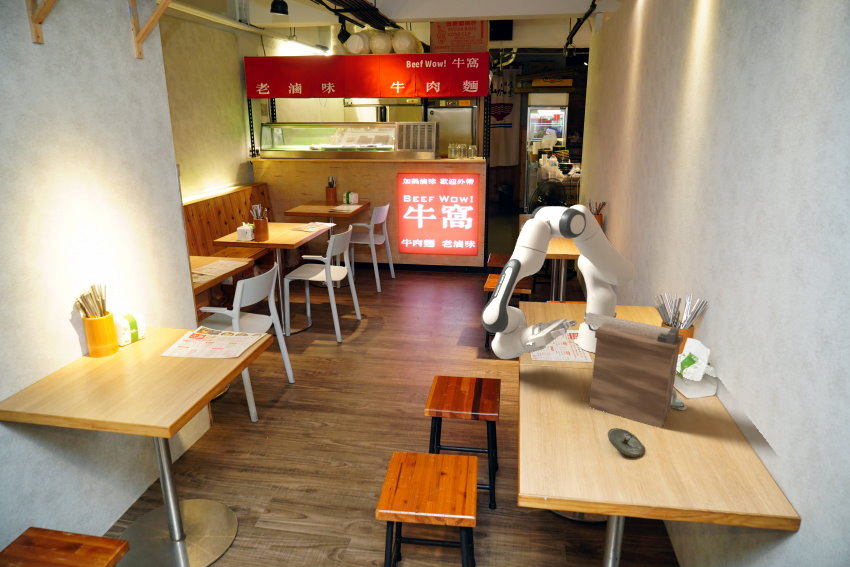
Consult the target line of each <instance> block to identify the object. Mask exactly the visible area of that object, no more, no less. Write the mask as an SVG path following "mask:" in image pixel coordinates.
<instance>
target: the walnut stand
mask: <svg viewBox="0 0 850 567" xmlns="http://www.w3.org/2000/svg"><path fill="white" fill-rule="evenodd" d="M669 329H670V331H669V332H668V334H667V337H664V336H658V339H655V338H650V337H645V336H641V335H636V334H631V333H626V332H622V331H617V330H612V329H607V328H603V327H600V328H599V329H598V330H597V331H596V332H595V338H597V341H596V350H595V353H594V358H593V361H594V362H593V368H592V377H591V378H592V380H591V387H590V395H589V404H588V408H589V407H591V408H590V409H593V408H594V410H596V409H597V411H600V410H601V411H600V412H603V411H604V412H603V413H606V412H607V414H610V413H611V414H610V415H613V414H614V416H618V417H620V416H621V418H624V419H626V420H631V421H635V422H638V423H642V424H645V425H649V426H652V427H655V426H656V427H655V428H658V427H659V429H662V427H663V425H664V424H663V423H665V422H666V420H667V418H668V416H669V414H670V410H671V399H672V393H673V388H674V385H675V379H676V371H677V367H678V366H677V365H678V360H679V353H680V347H681V345H682V343H683V341H684V335H682V334H680V327H674V326H672V327H671V328H669ZM665 419H666V420H665Z"/></svg>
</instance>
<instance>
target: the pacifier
mask: <svg viewBox="0 0 850 567" xmlns="http://www.w3.org/2000/svg"><path fill="white" fill-rule="evenodd" d="M670 408H672V409H676V410H679V411H685V410H686V409H687V408H688V407H687V405H686V404H685V402H683V400H682V399H681V398H680V397H679V396H678V394H677V390H676V388H675V387H673V393H672V399H671V406H670Z"/></svg>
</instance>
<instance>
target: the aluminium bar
mask: <svg viewBox="0 0 850 567" xmlns="http://www.w3.org/2000/svg"><path fill="white" fill-rule="evenodd" d="M585 324H589V325H593V326H598V327H603V328H607V329H612V330H617V331H622V332H626V333H631V334H636V335H641V336H645V337H650V338H655V339H658V336H664V337H667V334H668V332H669V331H670V329H671V328H669V327H664V326H658V325H653V324H648V323H643V322H640V321H639V322H638V321H635V320H634V321H633V320H628V319H624V318H619V317H616V318H614V317H609V316H604V315H599V314H595V313H590V312H589V313H587V314H586V317H585Z"/></svg>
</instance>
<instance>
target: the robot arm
mask: <svg viewBox="0 0 850 567" xmlns="http://www.w3.org/2000/svg"><path fill="white" fill-rule="evenodd" d="M552 238H561V239H562V238H565V239H571V240H572V241H573V243H574V246H575V247H576V248H577V250H578V252H579V254H580V255H579V256H578V259H577V267H578V269H579V271H580V272H581V274H582V276H583V278H584V282H585V287H586V292H587V294H586V295H587V296H586V310H585V312H584V316H583V321H584V322H583V321H582V322H581V323H580V325H579V329H578V336H577V338H575V339H573V343H574V344H576V345H577V346H578V347H579V348H580V349H582V350H583V351H586V352H590V353H594V354H595V350H596V341H597V338H595V332H596V331H597V330H598V329H599V328H600V327H598V326H593V325H589V324H585V317H586V314H587V313H589V312H590V313H595V314H599V315H604V316H609V317H614V318H617V315H618V314H617V312H616V309H617V302H618V300H617V299H618V297H617V294H616V293H615V292H614V290H613V288H612V286H611V285H613V286H624V287H625V286H628V285H629V284H630V283H632V281H633V280H634V279H635V275H636V267H635V265H634V263H633V262H631V261H630V260H629V259H627V258H626V257H624V255H623V254H622V253H621V252H620V251H619V250H618V249H617V248H616V247H615V246H614V245H613V243H611V241H610V240H609V239H608V238H607V236H606V234H605V233H604V231H603V229H602V227H601V225H600V224H599V222H598V220H597V219H596V217H595V215H594V214H593V213H592V212H591V211H590V209H589V208H587V206H585V205H583V204H575V205H572V206H570V207H566V206H553V205H552V206H549V205H543V206H539V207H536V208H535V209H534V211H532V213H531V215H530V218H529V219H528V220H526V222H525V224H524V225H523V227H522V229H521V230H520V233H519V236H518V238H517V241H516V243H515V247H514V251H513V252H512V255H511V257H510V259H509V260H508V261H507V262H506V263H505V265H504V267H503V269H502V270H501V273H500V275H499V277H498V280H497V282H496V284H495V286H494V290H493V292H492V294H491V297H490V299H489V300H488V302H487V303H486V305H485V306H484V308H483V309H482V312H481V315H480V316H481V320H480V321H481V324H482V326H483V327H484V329H485V330H486V331H487V332H489V333H495V336H494V338H493V340H492V341H491V348H492V351H493V353H494V354H495V356H496V357H498V359H501V360H510V359H514V358H515V359H516V358H518V357H521V356H523V355H524V354H533V353H535V352H538V351H541V350H544V349H545V348H546V346H547V345H549V344H552V342H553V341H554V340H556V339H557V338H558V337H560V336H563V335H566V334H567V332H568V330H569V329H570V328H571V327H572V328H573V327H575V326H577V324H578V322H577V321H576V319H572V320H568V319H567V318H560V319H559V318H558V319H555V320H550V321H548V322H545V321H542V322H539V323H537V324H536V323H534V324H531V325H529V326H528V324H527V318H526V315H525V312H524V311H523V310H522V309H520V308H518V307H514V306H509V302H510V300H511V297H512V295H513V292H514V290H515V288H516V285H517V283H519V281H520V280H522V279H523V278H525V277H528V276H532V275H534V274H536V273H538V272H539V271H540V270H541V268H542V267H543V265H544V262H545V260H546V257H547V253H548V249H549V246H550V245H549V244H550V241H551V239H552Z"/></svg>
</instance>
